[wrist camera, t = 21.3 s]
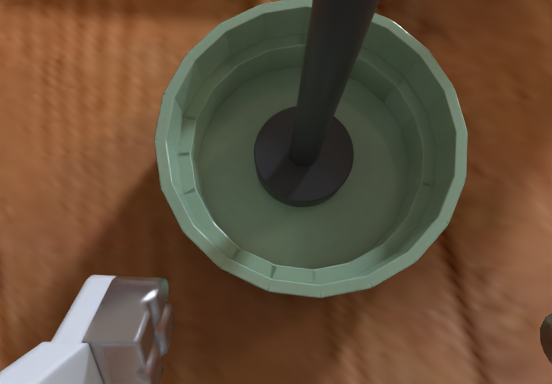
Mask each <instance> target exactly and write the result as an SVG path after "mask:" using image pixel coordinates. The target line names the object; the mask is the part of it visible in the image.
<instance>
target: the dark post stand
mask: <svg viewBox="0 0 552 384" xmlns="http://www.w3.org/2000/svg"><path fill="white" fill-rule="evenodd" d="M379 1H380V0H313V1H312V7H311V14H310V21H309V27H308V34H307V40H306V47H305V54H304V60H303V67H302V73H301V80H300V87H299V93H298V100H297V106H295V107H290V108H287V109H284V110H282V111H280V112H278V113H276V114H275V115H273V116H272V117H271V118H270V119H268V120H267V121H266V123H265V124H264V125H263V126H262V128H261V129H260V131H259V133H258V135H257V138H256V141H255V146H254V160H255V167H256V172H257V176H258V178H259V181H260V183H261V184H262V186H263V187H264V189H265V190H266V191H267V192H268V193H269V194H270V195H271V196H272V197H273V198H275V199H276V200H278V201H280V202H281V203H284V204H286V205H290V206H294V207H311V206H315V205H318V204H320V203H323V202H325V201H326V200H328V199H329V198H331V197H332V196H333V195H334V194H335V193H336V192H337V191H338V190H339V189H340V187H341V186H342V185H343V184H344V182H345V181H346V179H347V178H348V176H349V174H350V172H351V169H352V165H353V159H354V150H353V144H352V141H351V138H350V135H349V133H348V131H347V130H346V128H345V127H344V125H343V124H342V123H341V122H340V121H339V120H338V119H337V118H336V117H334V114H335V112H336V109H337V107H338V104H339V102H340V99H341V97H342V94H343V92H344V89H345V87H346V84H347V82H348V79H349V77H350V74H351V72H352V69H353V67H354V64H355V62H356V59H357V57H358V54H359V52H360V49H361V46H362V44H363V41H364V39H365V36H366V34H367V31H368V29H369V26H370V24H371V21H372V19H373V16H374V14H375V11H376V9H377V6H378V4H379Z"/></svg>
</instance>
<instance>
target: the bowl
mask: <svg viewBox="0 0 552 384" xmlns="http://www.w3.org/2000/svg"><path fill="white" fill-rule="evenodd" d="M312 1H313V0H283V1H277V2H271V3H265V4H260V5H258V6H256V7H253V8H251V9H249V10H247V11H245V12H243V13H241V14H239V15H237V16H235V17H233V18H231V19H228V20H226V21H224V22H222V23H220V24H219V25H217V26H216V27H215V28H214V29H213V30H212V31H211V32H210V33H209V34H207V35H206V36H205V37H204V38H203V39H202V40H201V41H200V42H199V43H198V44H197V45H196V46H194V47H193V48H192V49H191V50H190V51H189V52H188V53H187V54H186V55H185V57H184V59H183V60H182V62H181V64H180V66H179V67H178V69H177V71H176V73H175V74H174V76H173V78H172V80H171V81H170V83H169V85H168V87H167V89H166V90H165V92H164V95H163V97H162V102H161V107H160V112H159V117H158V122H157V128H156V133H155V138H154V140H155V141H154V144H155V152H156V159H157V166H158V173H159V180H160V187H161V190H162V192H163V194H164V196H165V198H166V200H167V202H168V204H169V206H170V208H171V210H172V212H173V214H174V216H175V218H176V220H177V222H178V224H179V226H180V228H181V230H182V232H184V234H185V235H186V236H187V237H188V238H189V239H190V240H191V241H192V242H193V243H194V244H195V245H196V246H197V247H198V248H199V249H200V250H201V251H202V252H203V253H204V254H205V255H206V256H207V257H208V258H209V259H210V260H211V261H212V262H213V263H214V264H216V265H217V266H218V267H219V268H221V270H223V271H225V272H228V273H230V274H232V275H234V276H236V277H238V278H240V279H242V280H244V281H246V282H248V283H250V284H252V285H254V286H256V287H259V288H261V289H263V290H265V291H268V292H273V293H281V294H288V295H296V296H304V297H312V298H326V297H331V296H336V295H341V294H346V293H351V292H356V291H361V290H366V289H370V288H373V287H375V286H377V285H378V284H380V283H382V282H384V281H385V280H387V279H389V278H390V277H392V276H394V275H396V274H397V273H399V272H401V271H402V270H404V269H406V268H408V267H409V266H411V265H413V264H414V263H415V262H417V261H418V260H419V259H420V257H421V256H422V255H423V254H424V253H425V252H426V250H427V249H428V248H429V247H430V246H431V245H432V243H433V242H434V241H435V240H436V239H437V238H438V236H439V235H440V234H441V233H442V232H443V231H444V229H445V228H446V227H447V226H448V224H449V222H450V219H451V217H452V214H453V212H454V209H455V207H456V204H457V201H458V199H459V196H460V194H461V191H462V188H463V186H464V183H465V179H466V167H467V137H468V133H467V128H466V125H465V122H464V118H463V115H462V112H461V108H460V105H459V101H458V98H457V95H456V91H455V88H454V86H453V85H452V83H451V82H450V80H449V79H448V78H447V76H446V75H445V73H444V72H443V70H442V69H441V67H440V66H439V64H438V63H437V61H436V60H435V58H434V57H433V55H432V54H431V53H430V51H429V50H428V49H427V48H426V47H425V46H424V45H422V44H421V43H420V42H419V41H417V40H416V39H415V38H414V37H412V36H411V35H410V34H409V33H408V32H406V31H405V30H404V29H403V28H401V27H400V26H399V25H398V24H396V23H395V22H394V21H392V20H391V19H388V18H386V17H384V16H381V15H379V14H376V13H375V14H374V16H373V19H372V21H371V24H370V26H369V29H368V31H367V34H366V36H365V39H364V41H363V44H362V46H361V49H360V52H359V54H358V57H357V59H356V62H355V64H354V67H353V69H352V72H351V74H350V77H349V79H348V82H347V84H346V87H345V89H344V92H343V94H342V97H341V99H340V102H339V104H338V107H337V109H336V112H335V114H334V117H336V118H337V119H338V120H339V121H340V122H341V123H342V124H343V125H344V127H345V128H346V130H347V131H348V133H349V135H350V138H351V141H352V144H353V150H354V159H353V165H352V169H351V172H350V174H349V176H348V178H347V179H346V181H345V182H344V184H343V185H342V186H341V187H340V189H339V190H338V191H337V192H336V193H335V194H334V195H333V196H332V197H331V198H329V199H328V200H326V201H325V202H323V203H320V204H318V205H315V206H311V207H294V206H290V205H286V204H284V203H281V202H280V201H278V200H276V199H275V198H273V197H272V196H271V195H270V194H269V193H268V192H267V191H266V190H265V189H264V187H263V186H262V184H261V183H260V181H259V178H258V176H257V172H256V167H255V160H254V146H255V141H256V138H257V135H258V133H259V131H260V129H261V128H262V126H263V125H264V124H265V123H266V121H267V120H268V119H270V118H271V117H272V116H273V115H275V114H276V113H278V112H280V111H282V110H284V109H287V108H290V107H295V106H297V100H298V93H299V87H300V80H301V73H302V67H303V60H304V54H305V47H306V40H307V34H308V27H309V21H310V14H311V7H312Z"/></svg>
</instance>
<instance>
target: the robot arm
mask: <svg viewBox="0 0 552 384" xmlns="http://www.w3.org/2000/svg"><path fill="white" fill-rule="evenodd" d="M168 294H169V286H168V282H167V279H164V278H151V277H133V276H106V275H92V276H91V277H89V278H88V279H87V280H86V281H85V283H84V285H83V286H82V288H81V290H80V292H79V293H78V295H77V297H76V299H75V300H74V302H73V304H72V305H71V307H70V309H69V311H68V312H67V314H66V316H65V318H64V319H63V321H62V323H61V325H60V326H59V328H58V330H57V332H56V333H55V335H54V337H53V339H52V340H51V342H42V343H40V344H39V345H38V346H36V347H35V348H33V349H32V350H31V351H29V352H28V353H26V354H25V355H23V356H22V357H21V358H19V359H18V360H16V361H15V362H14V363H12V364H11V365H9V366H8V367H7V368H5V369H4V370H2V371H1V372H0V384H159V383H160V380H161V376H162V373H163V368H162V363H161V357H163V356H164V355H165V354H166V353H167V352H168V351H169V348H170V344H171V340H172V334H173V326H174V314H173V308H172V305H171V304H170V303H168V302H167V298H168ZM540 341H541V345H542V348H543V351H544V353H545V354H546V356H547V358H548V360H549V361H550V363H551V364H552V313H551V314H550V315H548V316H547V317H545V319H544V321H543V323H542V325H541V327H540Z"/></svg>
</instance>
